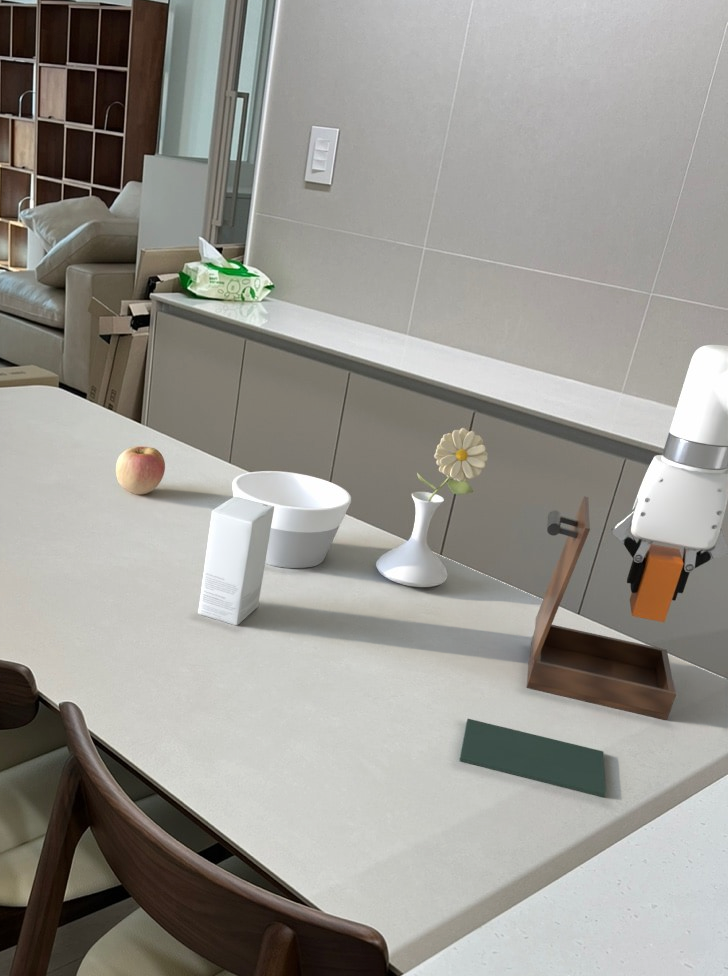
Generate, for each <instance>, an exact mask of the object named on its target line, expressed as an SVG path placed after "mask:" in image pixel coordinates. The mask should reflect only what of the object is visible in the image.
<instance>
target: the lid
mask: <svg viewBox="0 0 728 976" xmlns="http://www.w3.org/2000/svg"><path fill="white" fill-rule="evenodd" d="M562 524H565V525H568V526H571V528H570V529H569V528H566V527H563V526H562ZM546 526H547V527H546V531H547V534H548V535H550V536H554V537H555V536H557V535H564V536H567V537H566V541H565V543H564V546H563V548H562V551H561V554H560V556H559V558H558V561H557V562H556V566H555V569H554V571H553V573H552V576H551V578H550V581H549V583H548V586H547V588H546V591H545V594H544V596H543V599H542V601H541V603H540V606H539V608H538V611H537V614H536V616H535V622H534V623H535V624H534V630H535V636H534V648H533V659H535V660H537V659H538V657H539V654H540V652H541V649H542V647H543V644H544V642H545V640H546V637H547V635H548V632H549V630H550V627H551V625H553V622H554V620H555V617H556V614H557V612H558V610H559V607H560V605H561V602H562V600H563V597H564V594H565V592H566V591H567V587H568V586H569V582H570V580H571V578H572V576H573V573H574V571H575V568H576V565H577V563H578V560H579V558H580V556H581V553H582V551H583V548H584V546H585V543H586V540H587V538H588V535H589V533H590V531H591V523H590V503H589V497H588V496H585V495H584V496H583V498H582V500H581V502H580V505H579V507H578V510H577V513H576V515H575V517H574V518H571V517H566V516H564V515H562V514H561V513H560V511H558V510H551V511H550V512H549V513H548V514H547V525H546Z"/></svg>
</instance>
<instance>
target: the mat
mask: <svg viewBox="0 0 728 976" xmlns="http://www.w3.org/2000/svg"><path fill="white" fill-rule="evenodd" d="M462 739H463V740H462V745H461V750H460V754H459V762H462V763H467V764H470V765H475V766H479V767H482V768H487V769H490V770H495V771H498V772H502V773H506V774H510V775H514V776H518V777H522V778H525V779H530V780H533V781H538V782H542V783H546V784H550V785H554V786H557V787H561V788H565V789H570V790H573V791H576V792H577V791H578V792H581V793H585V794H589V795H593V796H598V797H600V798H605V797H606V777H605V759H604V757H605V756H604V751H603V750H599V749H595V748H591V747H588V746H583V745H580V744H575V743H570V742H566V741H562V740H558V739H555V738H550V737H546V736H542V735H538V734H533V733H529V732H526V731H521V730H516V729H513V728H509V727H504V726H501V725H497V724H492V723H487V722H484V721H480V720H476V719H471V718H467V719H466V723H465V729H464V733H463V738H462Z"/></svg>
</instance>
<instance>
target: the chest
mask: <svg viewBox="0 0 728 976" xmlns="http://www.w3.org/2000/svg"><path fill="white" fill-rule="evenodd" d="M534 636H535V629H534V631H533V634H532V637H531V640H530V644H529V654H528V655H529V657H528V668H527V678H526V679H527V680H526V688H527V689H530V690H531V689H532V690H534V691H535V690H536V691H539V692H543V693H548V694H552V695H556V696H561V697H566V698H569V699H574V700H578V701H583V702H587V703H591V704H595V705H599V706H604V707H608V708H613V709H616V710H621V711H625V712H629V713H633V714H637V715H638V714H639V715H643V716H646V717H652V718H656V719H660V720H664V721H667V720H668V717H669V715H670V713H671V709H672V706H673V704H674V701H675V698H676V696H677V692H676V689H675V683H674V677H673V673H672V667H671V663H670V658H669V653H668V649H666V648H663V647H662V648H660V647H657V646H653V645H647V644H643V643H639V642H634V641H629V640H624V639H621V638H615V637H611V636H606V635H601V634H597V633H592V632H589V631H583V630H579V629H574V628H569V627H566V626H565V627H564V626H562V625H561V626H560V625H555V624H552V625H551V627H550V630H549V632H548V635H547V637H546V640H545V642H544V644H543V647H542V649H541V652H540V654H539V657H538V659H537V660H535V659H533V648H534Z"/></svg>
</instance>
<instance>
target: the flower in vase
mask: <svg viewBox="0 0 728 976" xmlns="http://www.w3.org/2000/svg"><path fill="white" fill-rule="evenodd" d="M483 443H484V439H483V438H482V437H481V435H479V434H476V432H475V431H474V430H470V431H469V430H468V429H466V428H465V427H462V428H460V429H454V430H453V431H452V433H451V432H448V433H444V434H443V436H442V437H441V438H440V442H439V444H437V446H436V449H435V453H434V455H433V457H434V459H435V460H436V462H435V463H436V466H439V468H438V472H439V473H442V474H443V475H445V476H446V477H447V478H446V479H445V480H444V481H443V482H442V483H441V484H440V485H439V486H438V488H437V487H436V486H435V485H434V484H433V483H432V482H430V481H429V480H426V479H425V478H423V477H422V476H421V475H420V474H419V473H418V472H416V475H417V478H418V480H420V481H421V482H422V483H424V484H425V485H427V486H429V487H431V488H432V489H433V490H434V491H433V492H432V493H431V492H427V491H415V492H412V493H411V497H412V499H413V502H414V507H415V518H414V524H413V530H412V533H411V535H410V537H409V539H408V540H407V541H405V542H404V543H402V544H401V545H398V546H396V547H395V548H392V549H390V550H387V551H386V552H385V553H383V554H382V555H381V556H379V558H378V559H377V560H376V563H375V566H376V568H377V571H378V573H380V575H382V576H383V577H384V578H386V579H388V580H390V581H392V582H394V583H397V584H400V585H404V586H408V587H414V588H429V587H436V586H439V585H441V584H443V583H444V582H445V581H446V580H448V569H447V568H446V566H445V565H444V563H443V562H442V560H441V559H440V558H439V557H438V556H437V555H436V553H434V552H433V550H432V549H431V548H430V547H429V545H428V541H427V540H428V531H429V527H430V523H431V521H432V518H433V516H434V513H435V512H436V511H437V509H438V508H439V506H440V505H441V504H443V503H444V502H445V498H444V497H443V496H441V495H439V494H437V493H439V491H440V490H441V489H442V488H443V487H444V486H445V484H447V487H448V488H449V490H450V492H452V494H454V495H466V494H470V493H473V492H474V489H473V488H472V486H471V485H470V484H469V482H468V481H467V479H470V480H471V479H475V477H479V476H480V475H481V473H482V471H483V470H482V469H484V468H485V467H486V462H487V461H488V460H489V458H488V456H489V453H488V452H487V451H486V450H487V447H486V446H485V444H483Z"/></svg>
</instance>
